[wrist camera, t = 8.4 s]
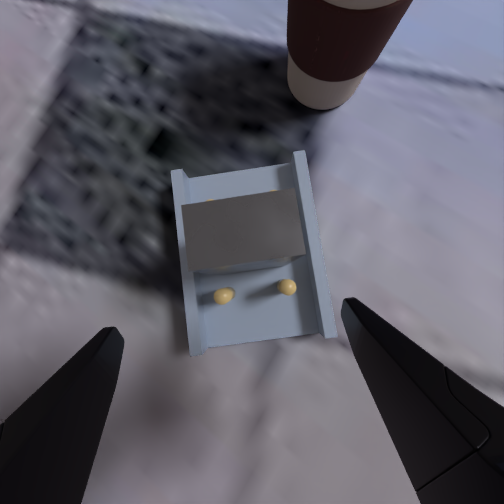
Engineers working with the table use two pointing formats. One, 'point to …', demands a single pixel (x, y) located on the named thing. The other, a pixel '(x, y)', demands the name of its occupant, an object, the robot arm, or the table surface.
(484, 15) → the table surface
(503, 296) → the table surface
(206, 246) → the block
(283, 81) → the table surface
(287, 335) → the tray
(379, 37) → the coffee cup
